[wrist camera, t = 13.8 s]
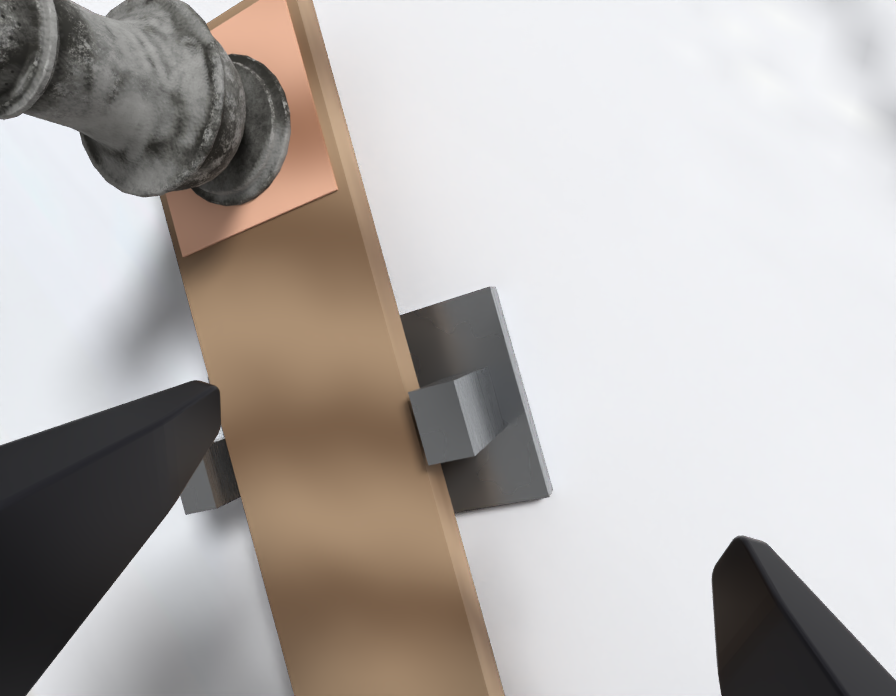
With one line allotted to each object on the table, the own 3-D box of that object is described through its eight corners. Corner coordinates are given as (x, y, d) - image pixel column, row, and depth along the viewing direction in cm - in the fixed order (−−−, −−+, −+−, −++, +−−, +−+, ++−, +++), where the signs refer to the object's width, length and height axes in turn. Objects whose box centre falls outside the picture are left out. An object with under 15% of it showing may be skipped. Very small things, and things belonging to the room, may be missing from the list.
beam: (550, 862, 19) (537, 937, 17) (358, 845, 22) (325, 908, 19) (309, -10, 19) (265, -51, 17) (153, 85, 22) (97, 61, 20)
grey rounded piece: (327, 99, 18) (-200, -234, 7) (247, 246, 20) (-286, 171, 8) (212, 15, 19) (-386, -379, 8) (146, 159, 21) (-430, -6, 10)
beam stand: (552, 489, 20) (527, 540, 16) (265, 538, 25) (187, 587, 21) (495, 286, 20) (455, 283, 16) (220, 374, 25) (134, 390, 21)
